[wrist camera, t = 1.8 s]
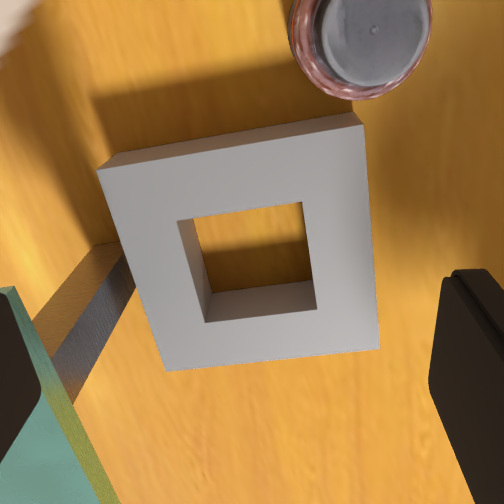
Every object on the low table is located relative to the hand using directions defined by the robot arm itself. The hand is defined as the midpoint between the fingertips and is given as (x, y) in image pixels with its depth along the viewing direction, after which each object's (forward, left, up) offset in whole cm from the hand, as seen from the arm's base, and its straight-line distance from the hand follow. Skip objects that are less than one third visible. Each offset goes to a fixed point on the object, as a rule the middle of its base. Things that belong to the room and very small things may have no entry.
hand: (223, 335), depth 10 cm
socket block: (+2, +8, -22) cm, 24 cm away
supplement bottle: (-5, -5, -22) cm, 24 cm away
